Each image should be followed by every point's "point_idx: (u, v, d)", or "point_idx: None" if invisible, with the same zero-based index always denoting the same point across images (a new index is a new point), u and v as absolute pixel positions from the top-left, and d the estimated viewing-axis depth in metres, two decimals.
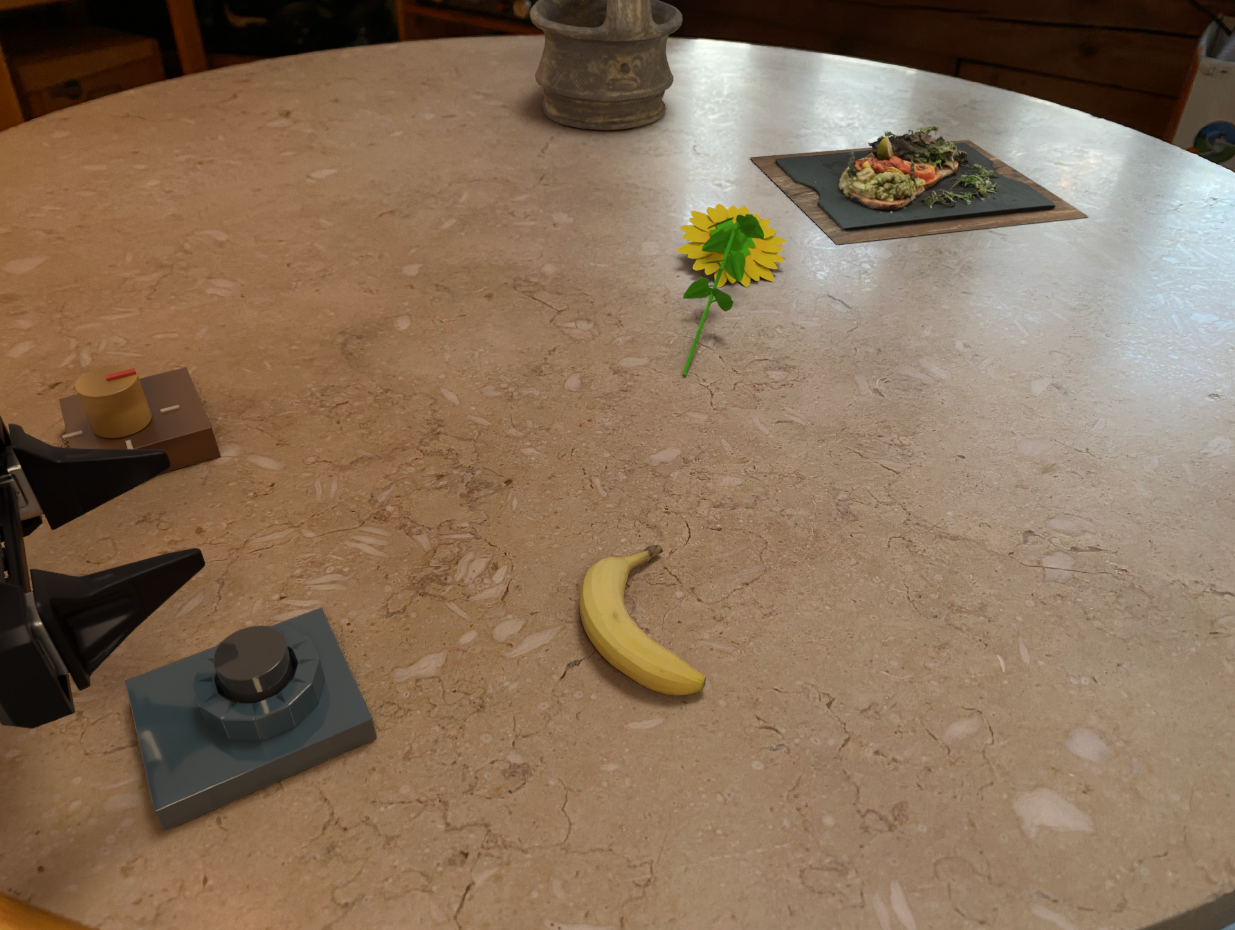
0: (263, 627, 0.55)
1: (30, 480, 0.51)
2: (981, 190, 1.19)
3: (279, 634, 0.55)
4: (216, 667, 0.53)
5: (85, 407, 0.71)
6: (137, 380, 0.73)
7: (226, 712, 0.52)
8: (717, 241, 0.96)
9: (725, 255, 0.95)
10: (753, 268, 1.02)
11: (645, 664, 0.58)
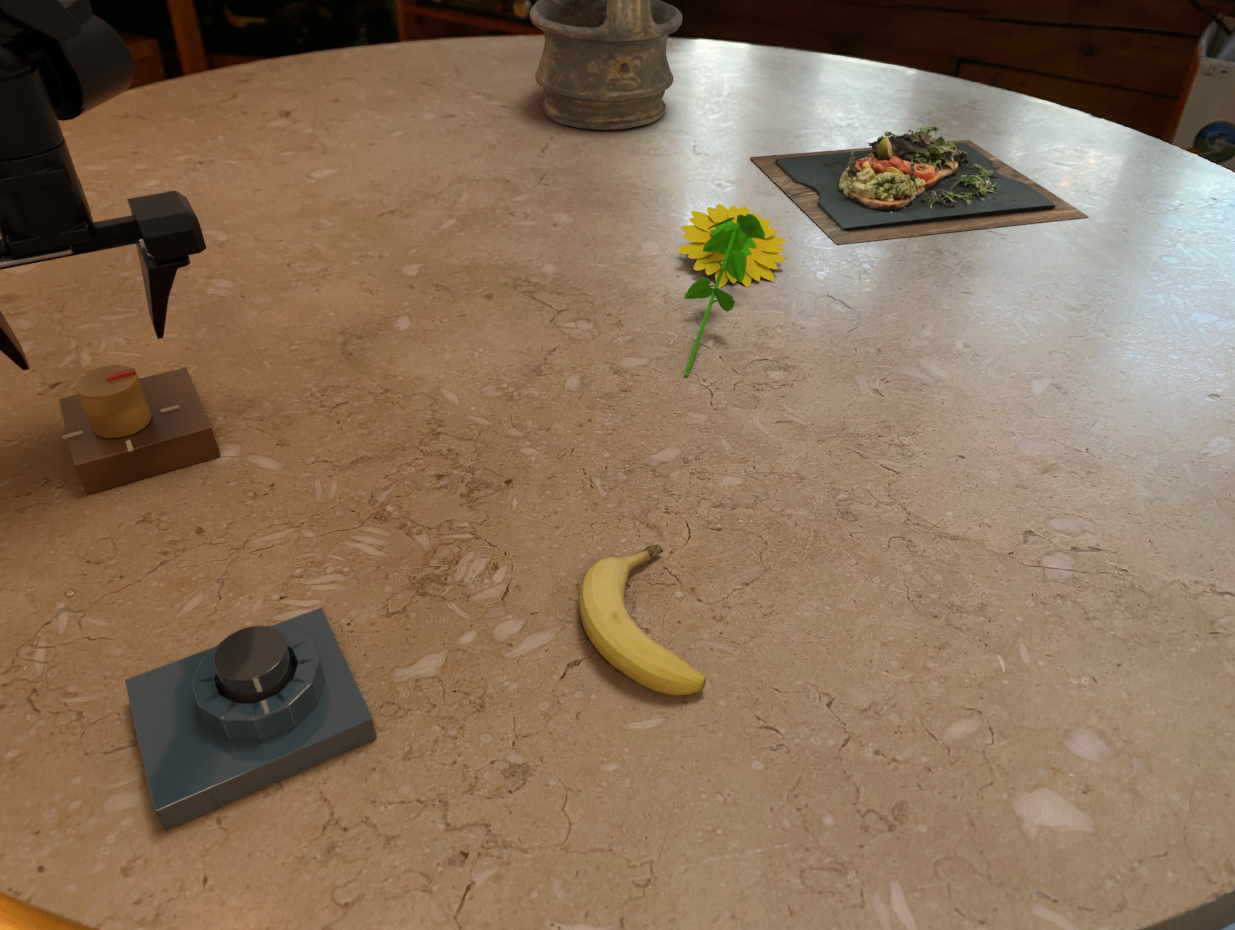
0: (263, 627, 0.55)
1: None
2: (981, 190, 1.19)
3: (279, 634, 0.55)
4: (216, 667, 0.53)
5: (85, 407, 0.71)
6: (137, 380, 0.73)
7: (226, 712, 0.52)
8: (718, 241, 0.96)
9: (726, 255, 0.95)
10: (754, 268, 1.02)
11: (645, 664, 0.58)
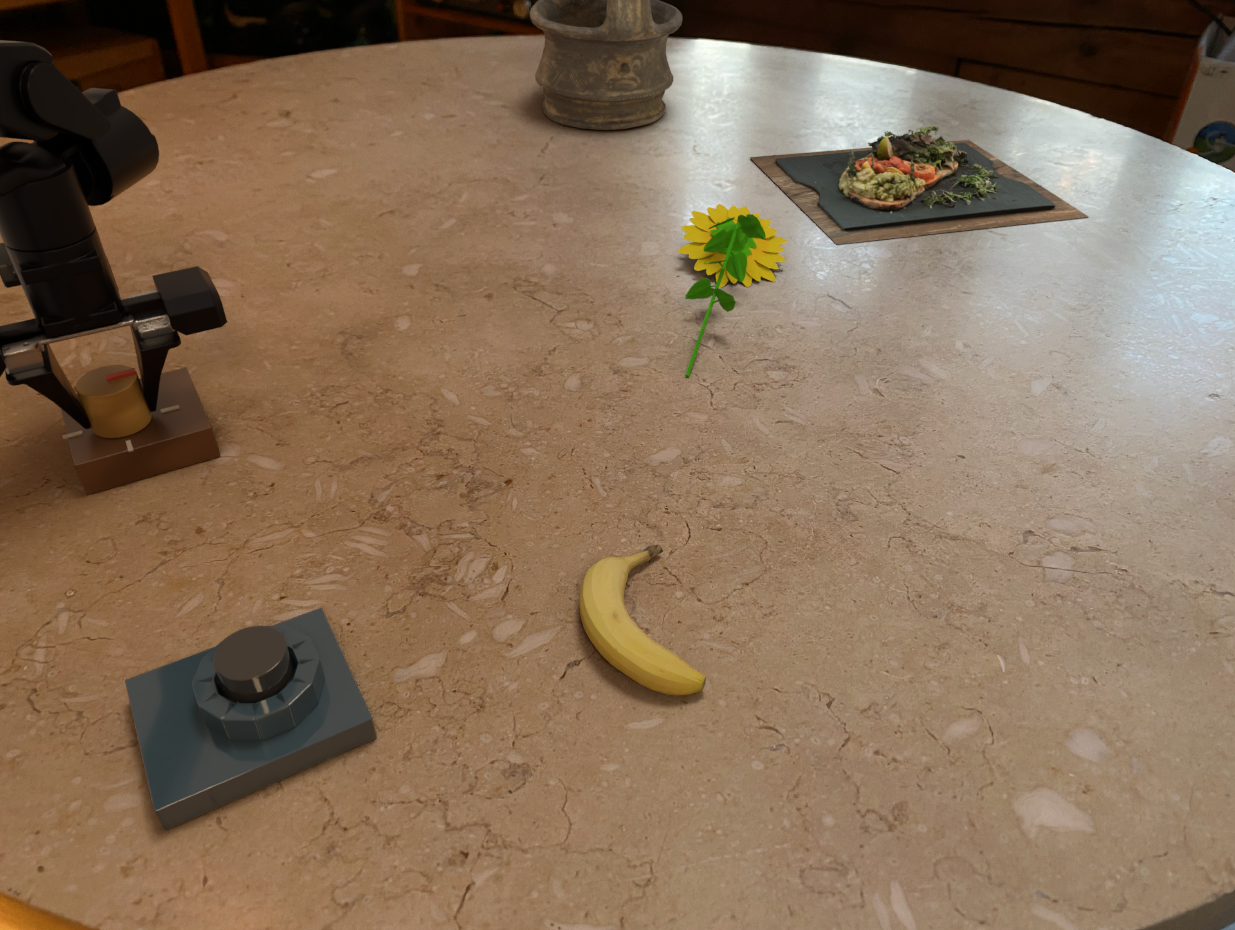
0: (263, 627, 0.55)
1: (47, 349, 0.69)
2: (981, 190, 1.19)
3: (279, 634, 0.55)
4: (216, 667, 0.53)
5: (85, 407, 0.71)
6: (137, 380, 0.73)
7: (226, 712, 0.52)
8: (719, 241, 0.96)
9: (727, 255, 0.95)
10: (754, 268, 1.02)
11: (645, 664, 0.58)
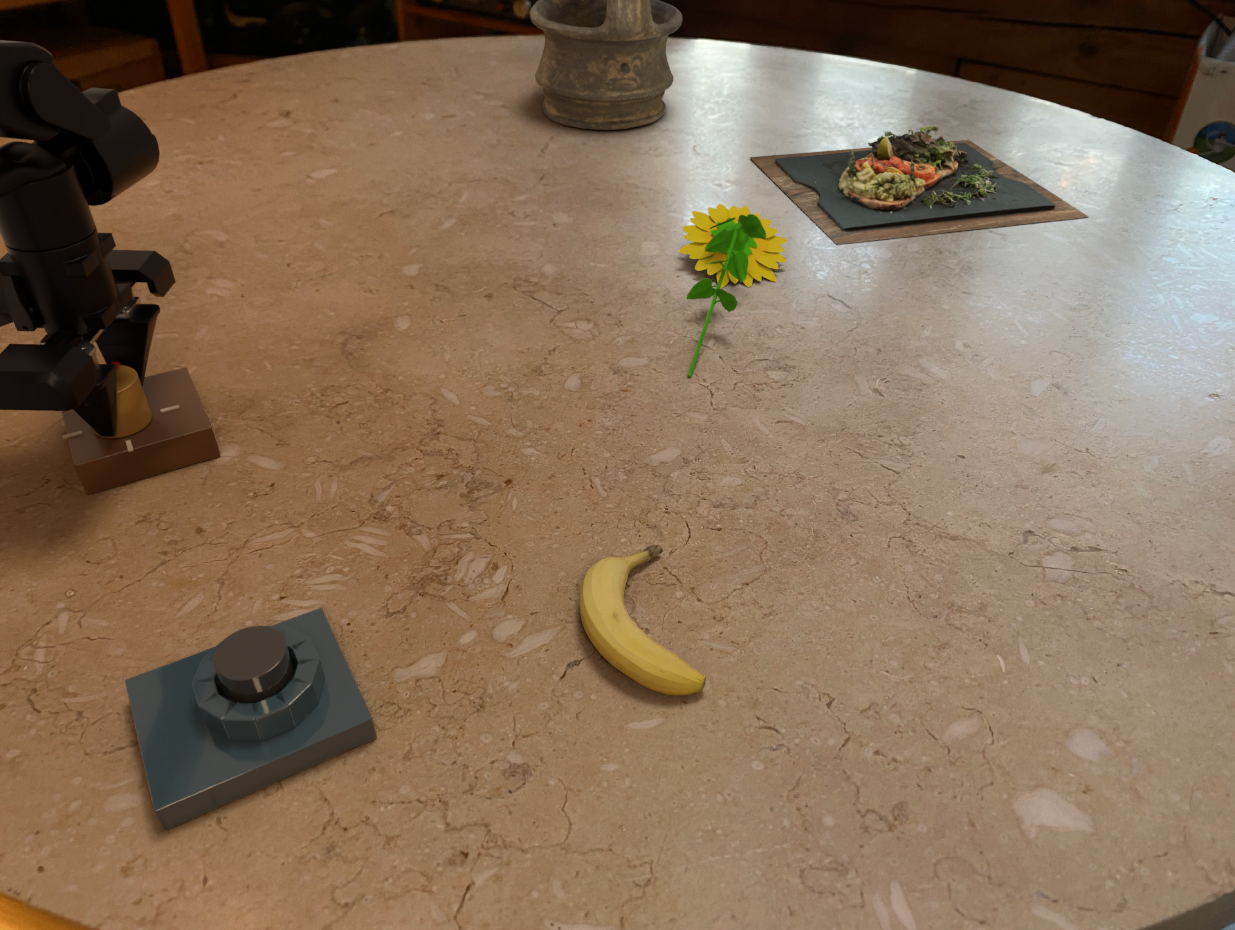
0: (263, 627, 0.55)
1: None
2: (981, 190, 1.19)
3: (279, 634, 0.55)
4: (216, 667, 0.53)
5: None
6: None
7: (226, 712, 0.52)
8: (720, 241, 0.96)
9: (728, 255, 0.95)
10: (755, 268, 1.02)
11: (645, 664, 0.58)
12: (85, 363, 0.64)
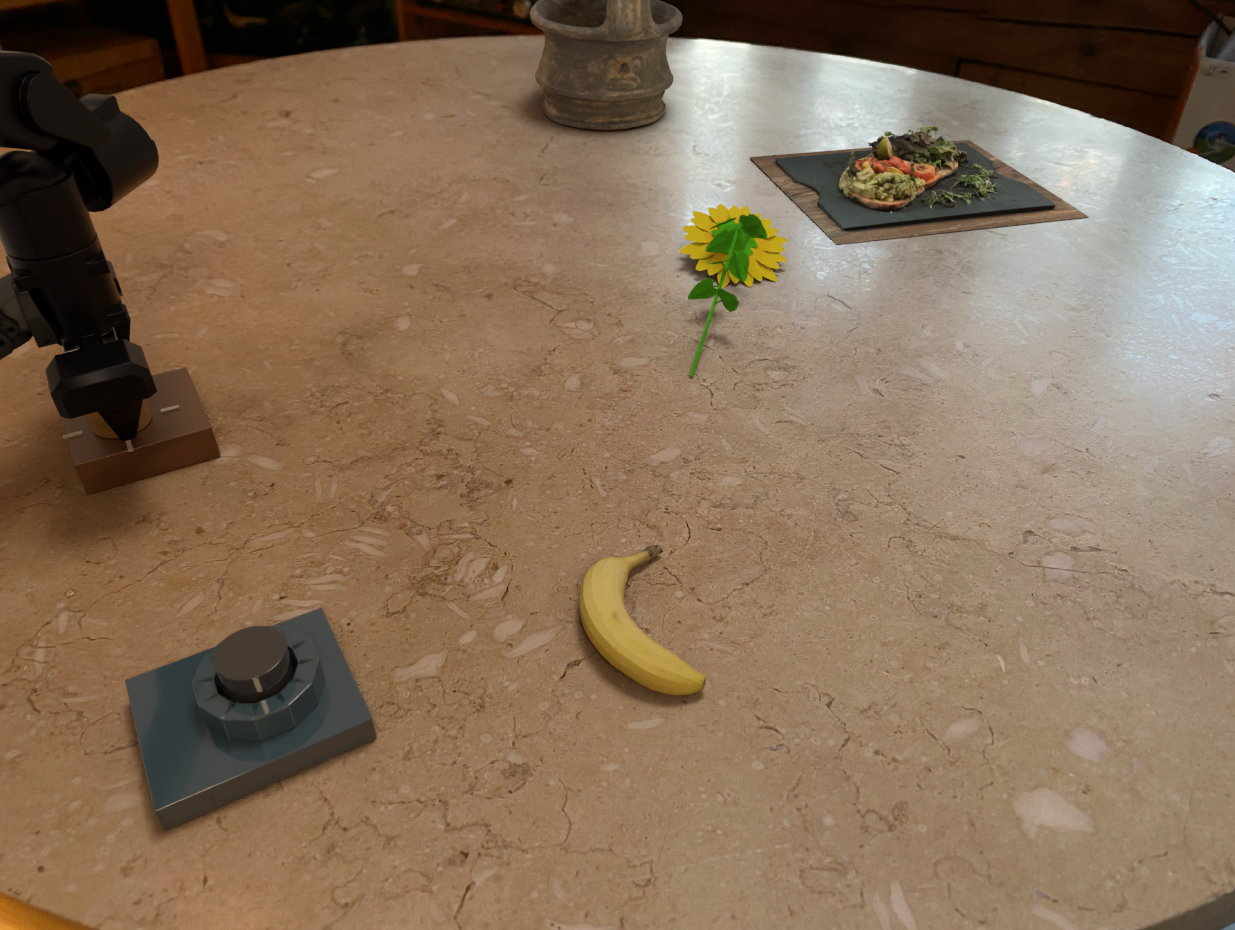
0: (263, 627, 0.55)
1: None
2: (981, 190, 1.19)
3: (279, 634, 0.55)
4: (216, 667, 0.53)
5: None
6: None
7: (226, 712, 0.52)
8: (721, 241, 0.96)
9: (729, 255, 0.95)
10: (756, 268, 1.02)
11: (645, 664, 0.58)
12: (142, 352, 0.66)
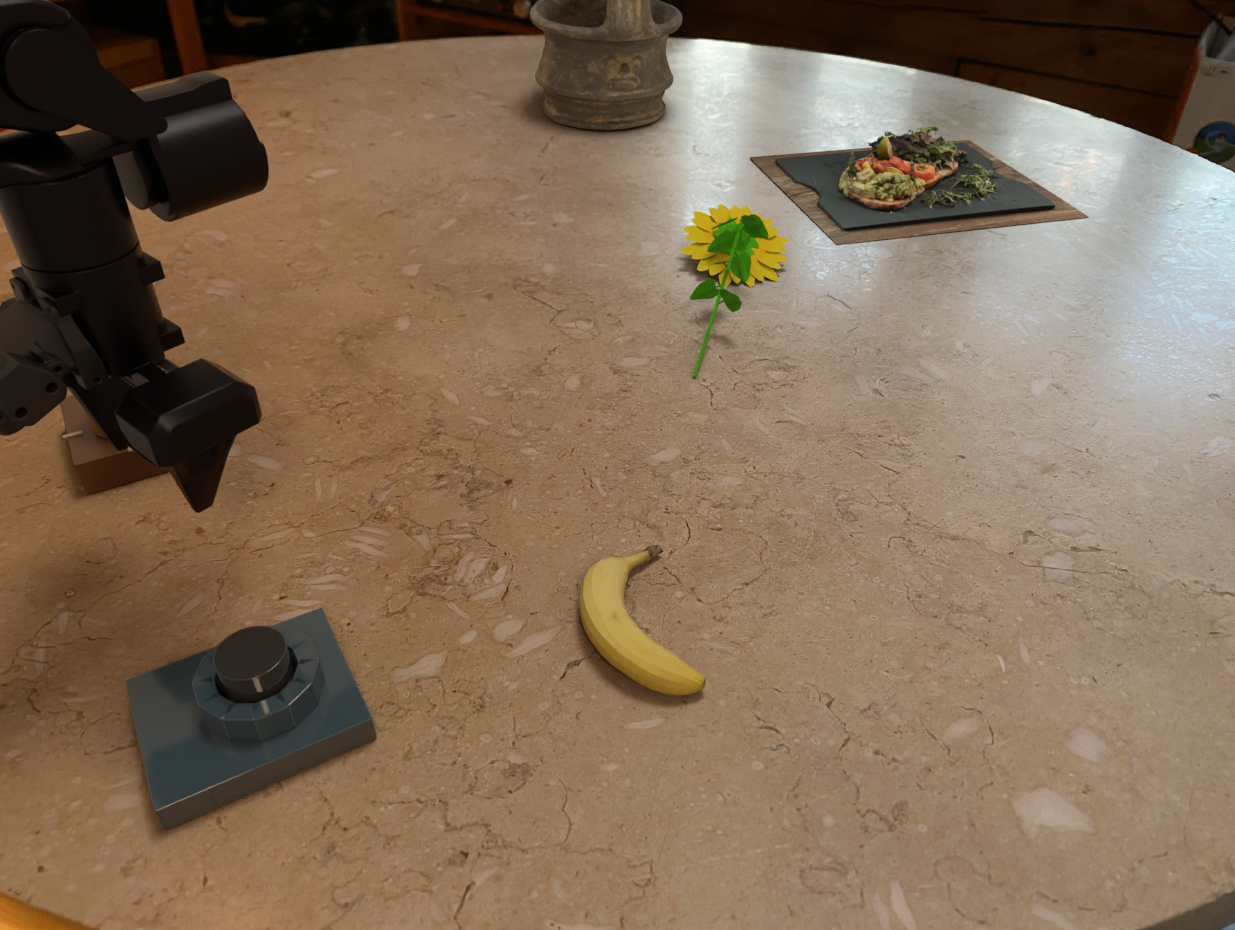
0: (263, 627, 0.55)
1: None
2: (981, 190, 1.19)
3: (279, 634, 0.55)
4: (216, 667, 0.53)
5: None
6: None
7: (226, 712, 0.52)
8: (723, 241, 0.96)
9: (731, 256, 0.95)
10: (757, 268, 1.02)
11: (645, 664, 0.58)
12: (228, 370, 0.52)
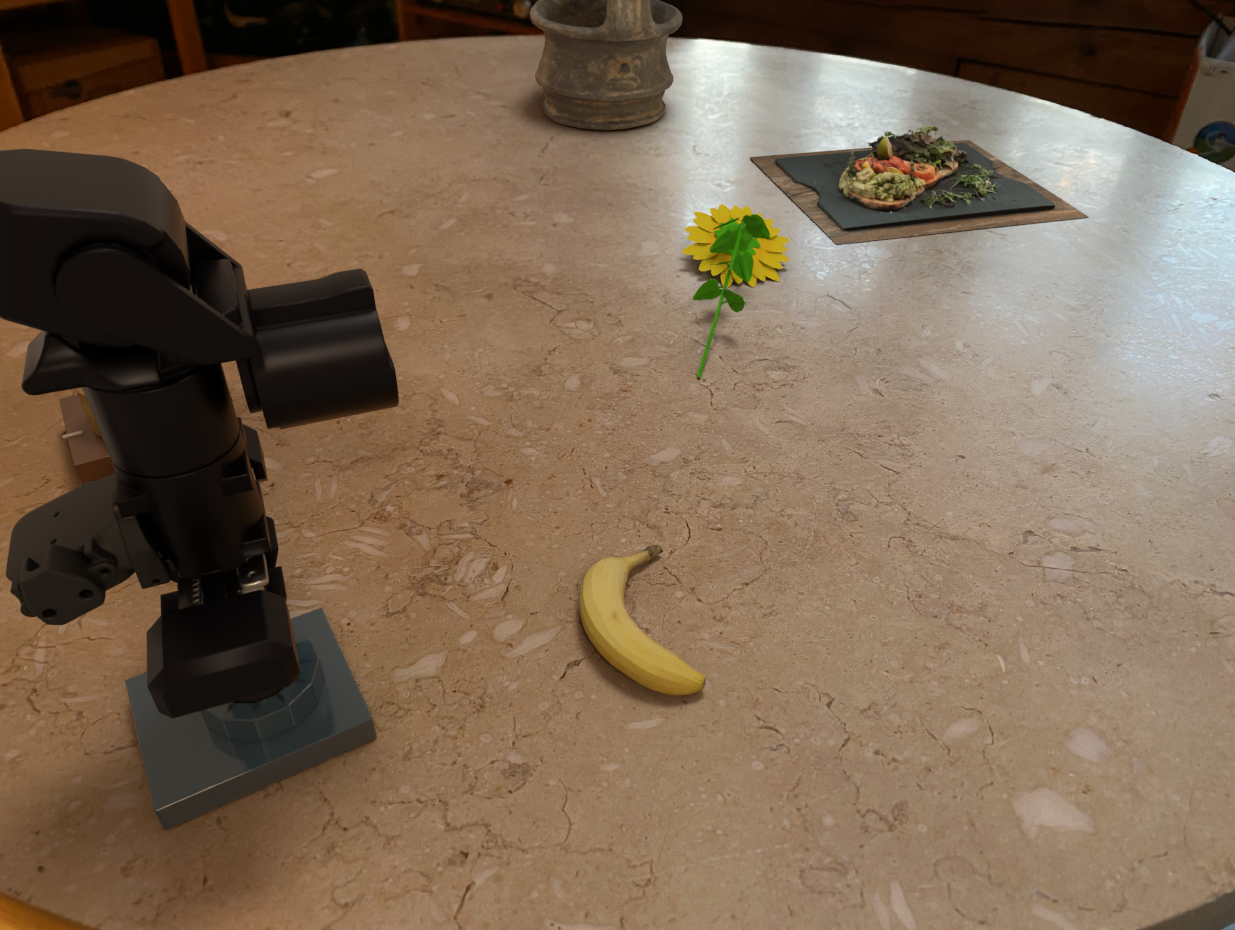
0: None
1: None
2: (981, 190, 1.19)
3: None
4: None
5: None
6: None
7: (226, 712, 0.52)
8: (725, 242, 0.96)
9: (733, 256, 0.95)
10: (759, 268, 1.02)
11: (645, 664, 0.58)
12: (286, 609, 0.44)
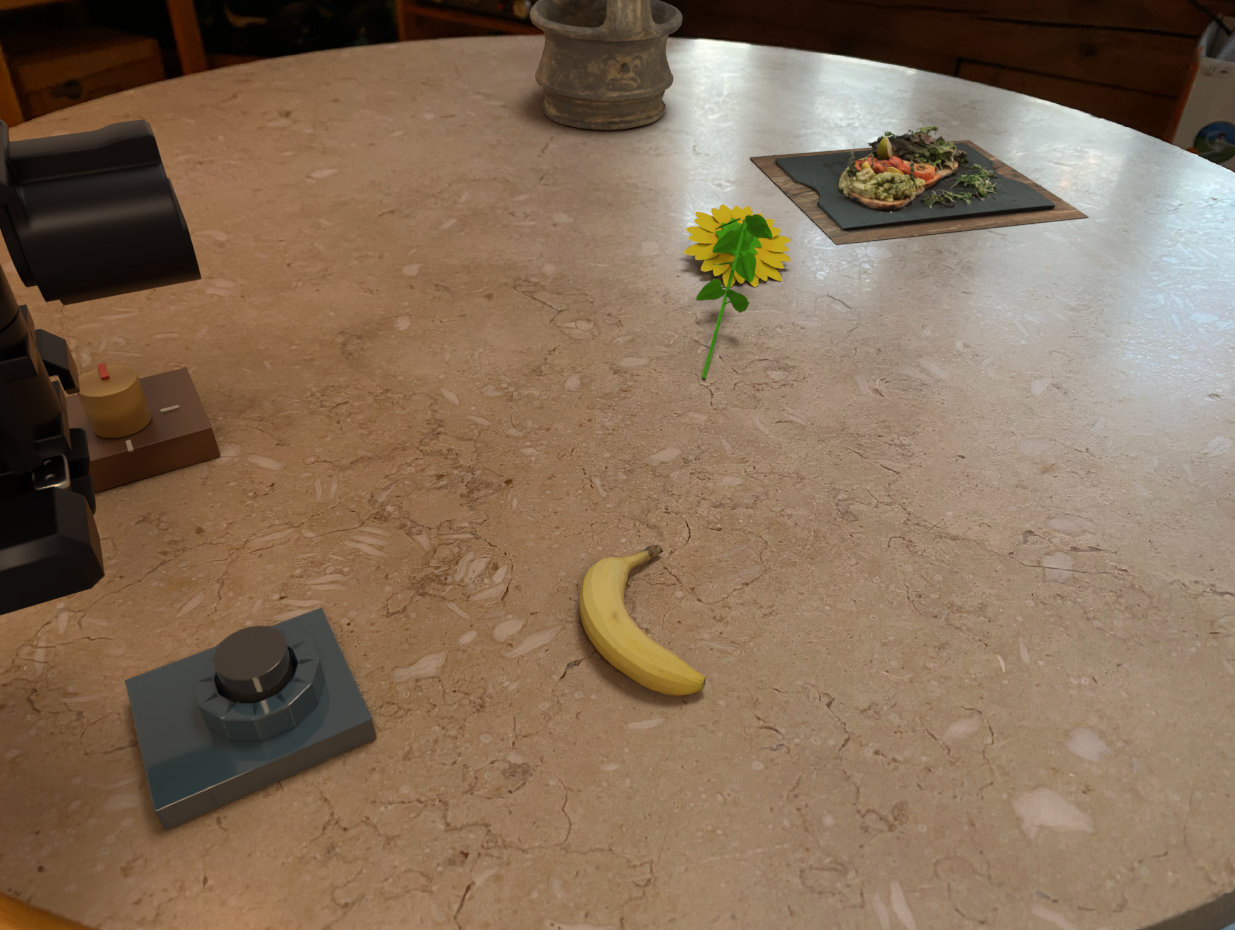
0: (263, 627, 0.55)
1: None
2: (981, 190, 1.19)
3: (279, 634, 0.55)
4: (216, 667, 0.53)
5: (128, 403, 0.72)
6: None
7: (226, 712, 0.52)
8: (727, 242, 0.96)
9: (736, 256, 0.95)
10: (761, 268, 1.02)
11: (645, 664, 0.58)
12: (85, 507, 0.40)
